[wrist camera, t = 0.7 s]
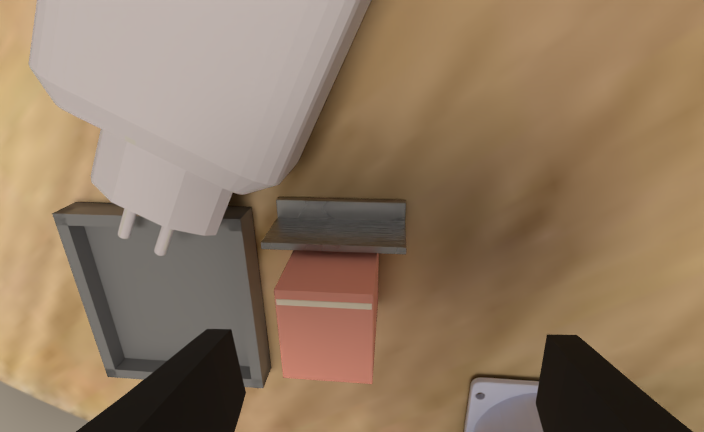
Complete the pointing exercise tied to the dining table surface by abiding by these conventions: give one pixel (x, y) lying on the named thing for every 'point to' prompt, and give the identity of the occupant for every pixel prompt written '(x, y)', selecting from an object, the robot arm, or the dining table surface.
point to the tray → (165, 288)
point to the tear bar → (338, 225)
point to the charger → (191, 95)
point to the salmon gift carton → (328, 315)
